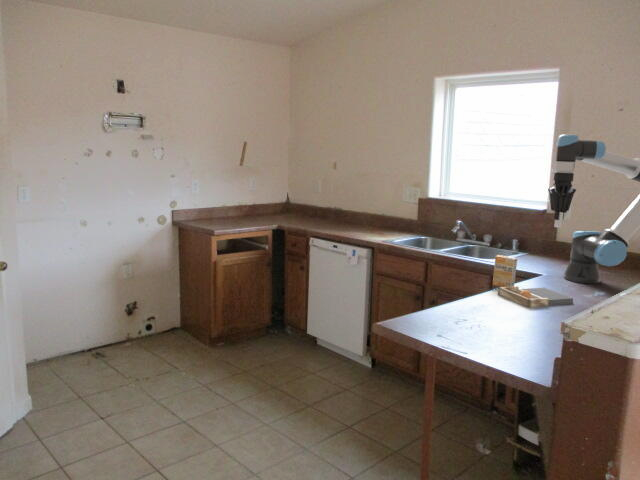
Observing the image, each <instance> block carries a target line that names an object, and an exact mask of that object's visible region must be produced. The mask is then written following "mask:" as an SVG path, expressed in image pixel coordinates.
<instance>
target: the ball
mask: <svg viewBox="0 0 640 480" xmlns="http://www.w3.org/2000/svg"><path fill="white" fill-rule="evenodd" d="M520 295H521V296H524V297H526V298H529V299H530V297H531V293H530V292H529V291H527V290H523V291H522V292H521V293H520Z"/></svg>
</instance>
